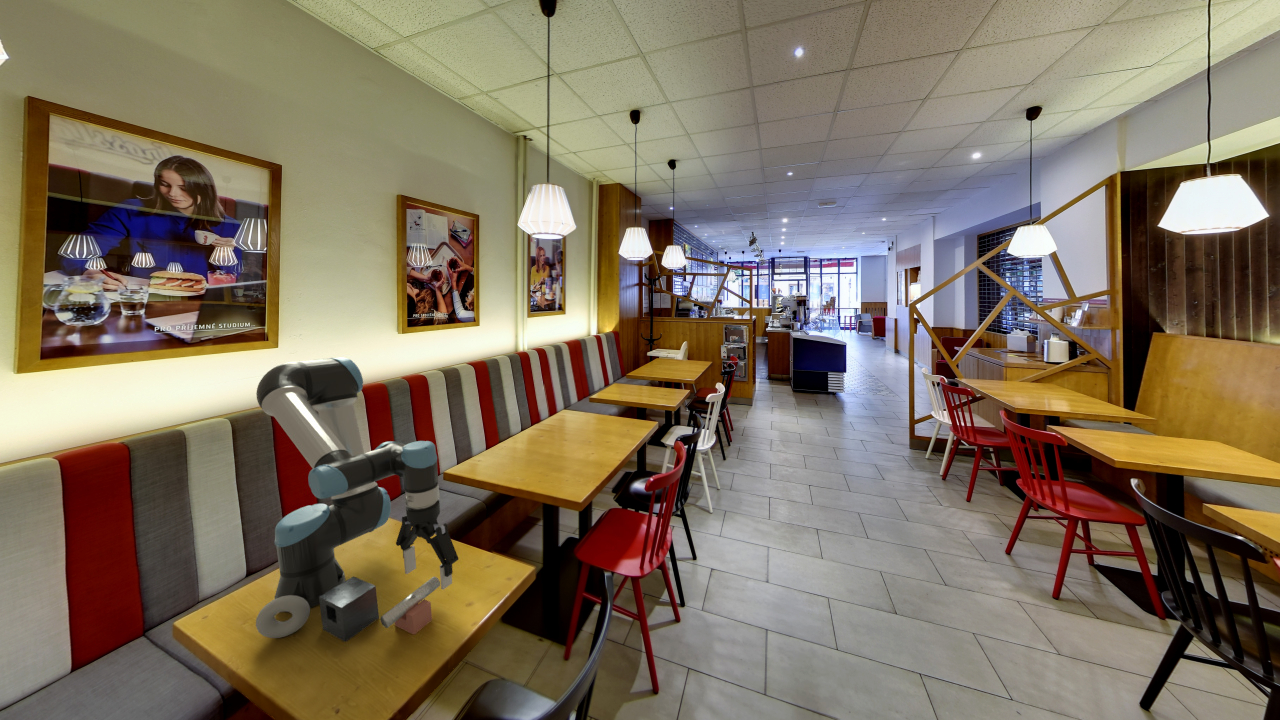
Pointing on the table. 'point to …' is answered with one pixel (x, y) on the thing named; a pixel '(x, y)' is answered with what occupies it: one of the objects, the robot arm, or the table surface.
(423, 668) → the table surface
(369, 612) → the block with square hole
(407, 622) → the v block
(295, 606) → the donut
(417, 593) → the axle
